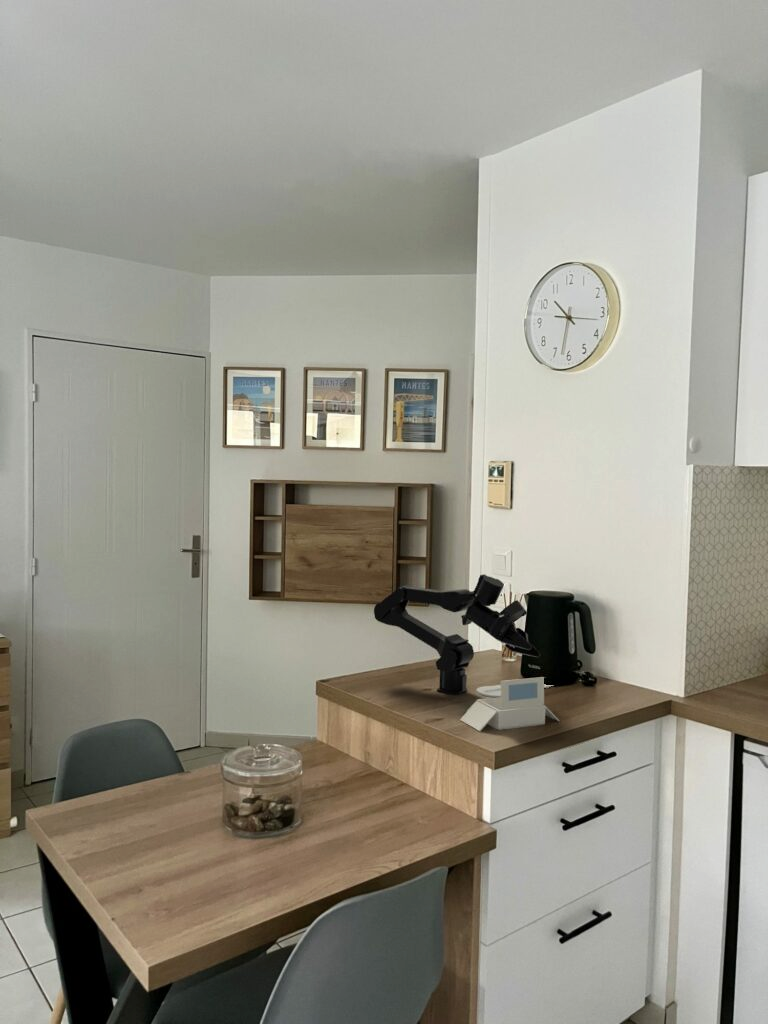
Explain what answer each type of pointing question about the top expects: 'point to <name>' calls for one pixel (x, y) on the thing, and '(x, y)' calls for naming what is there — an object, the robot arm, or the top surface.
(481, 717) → the flap
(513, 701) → the panel
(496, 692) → the white pronged spatula
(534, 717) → the carton
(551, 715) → the flap
